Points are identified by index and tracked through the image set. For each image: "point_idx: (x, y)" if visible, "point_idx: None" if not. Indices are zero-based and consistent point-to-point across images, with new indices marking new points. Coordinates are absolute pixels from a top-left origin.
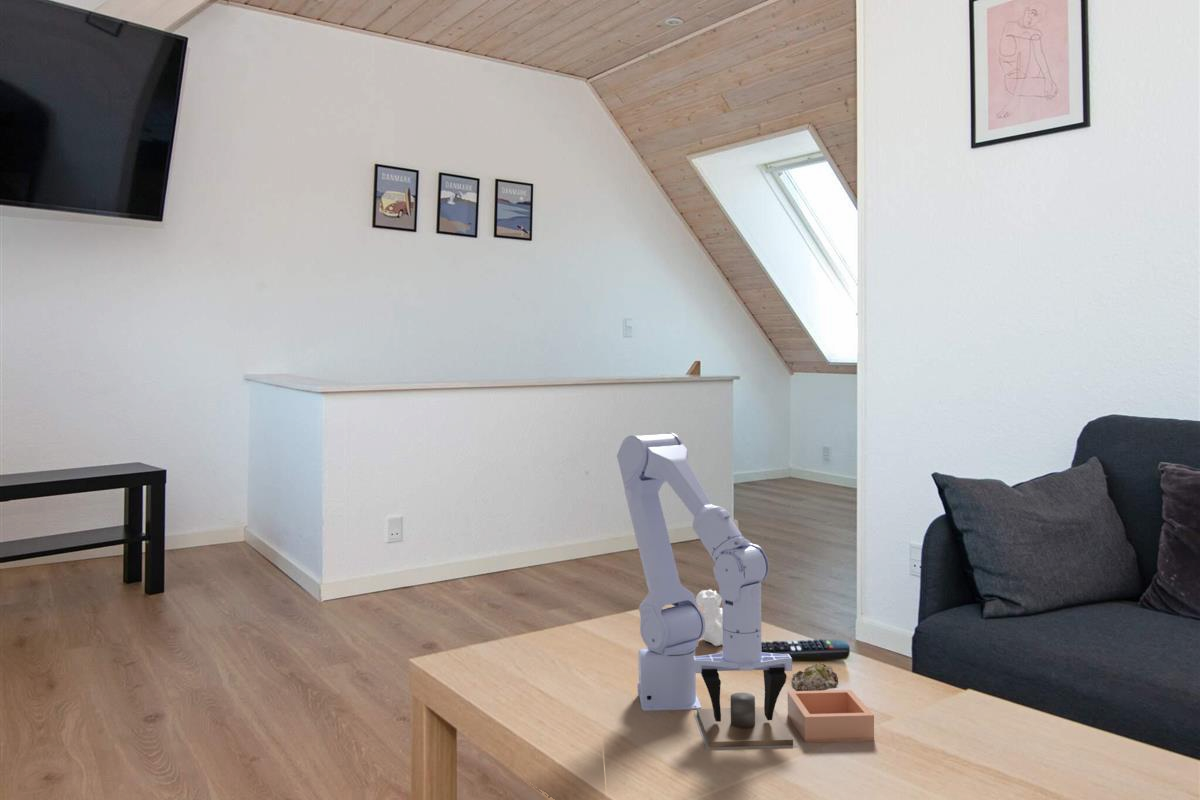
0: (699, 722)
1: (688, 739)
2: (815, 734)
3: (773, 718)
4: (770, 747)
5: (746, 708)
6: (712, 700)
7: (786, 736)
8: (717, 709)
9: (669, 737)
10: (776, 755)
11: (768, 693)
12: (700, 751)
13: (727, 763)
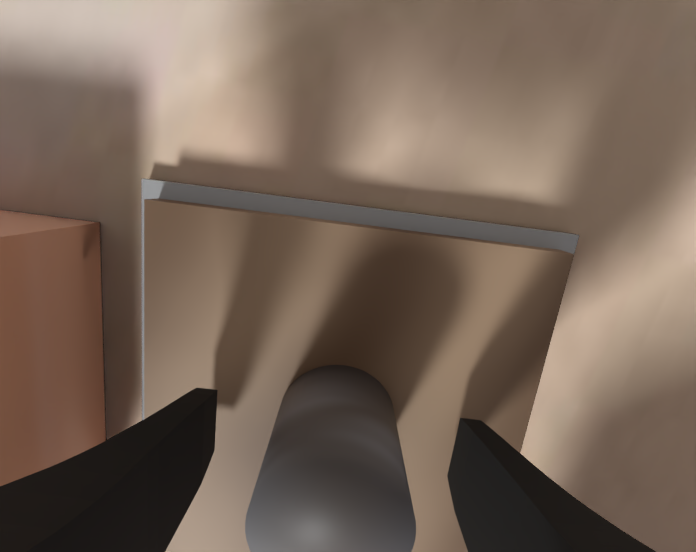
0: None
1: (593, 368)
2: (9, 221)
3: None
4: (275, 195)
5: (332, 426)
6: (579, 501)
7: (168, 243)
8: (510, 453)
9: (662, 399)
10: (266, 137)
11: (133, 510)
12: (593, 245)
13: (524, 97)
